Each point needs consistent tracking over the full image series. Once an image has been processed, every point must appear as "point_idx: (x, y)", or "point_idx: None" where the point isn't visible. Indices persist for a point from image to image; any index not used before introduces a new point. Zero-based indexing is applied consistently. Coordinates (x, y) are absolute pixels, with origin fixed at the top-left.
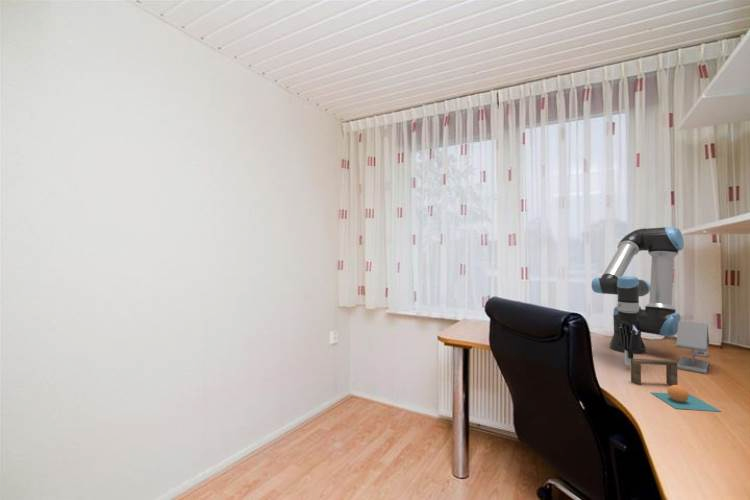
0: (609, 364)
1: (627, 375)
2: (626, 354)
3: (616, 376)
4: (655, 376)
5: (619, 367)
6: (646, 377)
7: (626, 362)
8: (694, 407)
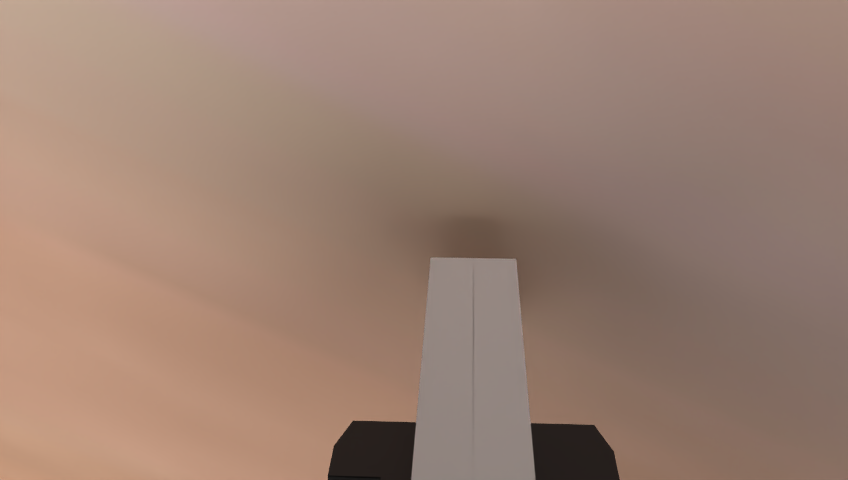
0: (831, 6)
1: (9, 24)
2: (415, 462)
3: None
4: (146, 459)
5: (587, 133)
6: (28, 314)
7: (437, 298)
8: None
